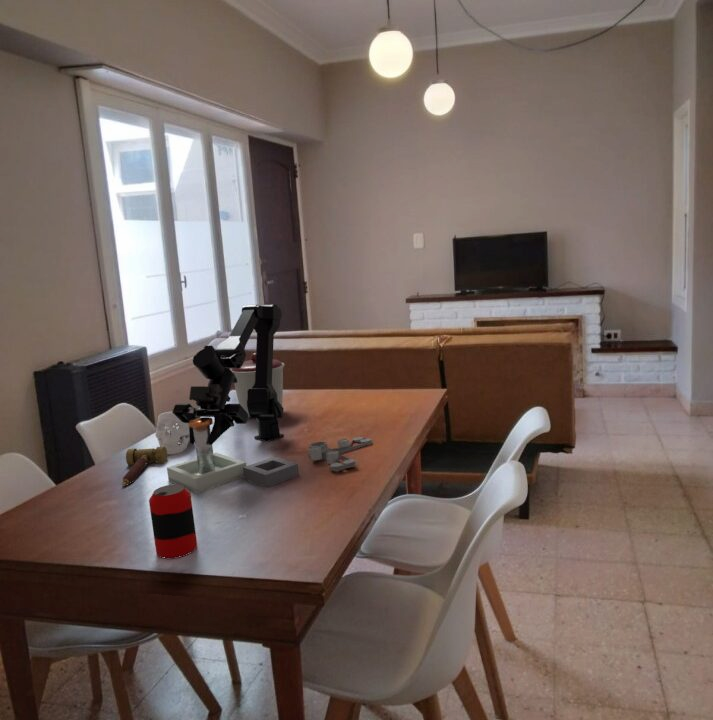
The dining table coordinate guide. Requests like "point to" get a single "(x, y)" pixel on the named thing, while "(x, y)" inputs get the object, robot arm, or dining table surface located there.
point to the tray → (197, 482)
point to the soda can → (172, 521)
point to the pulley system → (336, 452)
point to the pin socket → (271, 471)
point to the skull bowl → (172, 433)
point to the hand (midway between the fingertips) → (200, 444)
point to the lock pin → (203, 444)
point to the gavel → (142, 461)
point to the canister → (247, 380)
